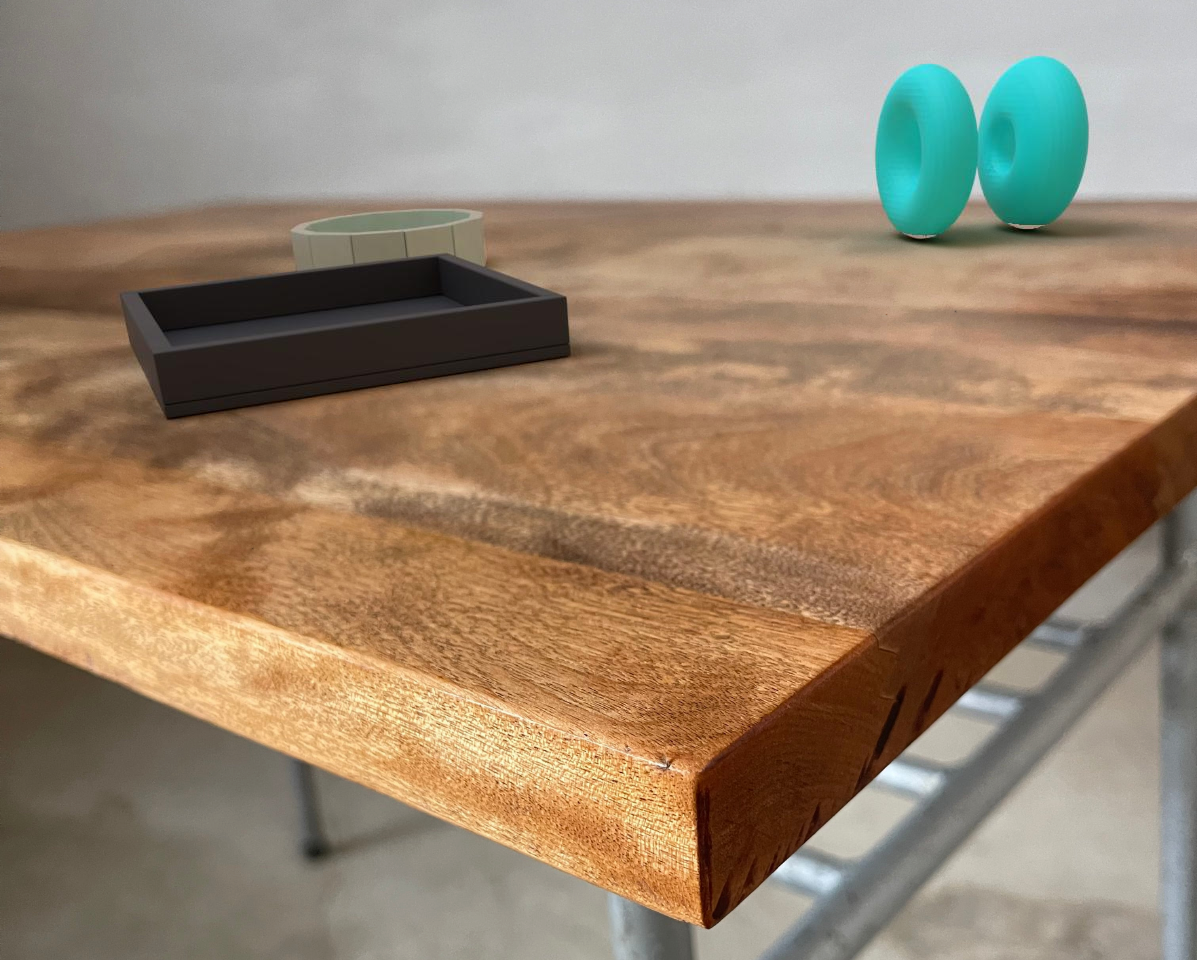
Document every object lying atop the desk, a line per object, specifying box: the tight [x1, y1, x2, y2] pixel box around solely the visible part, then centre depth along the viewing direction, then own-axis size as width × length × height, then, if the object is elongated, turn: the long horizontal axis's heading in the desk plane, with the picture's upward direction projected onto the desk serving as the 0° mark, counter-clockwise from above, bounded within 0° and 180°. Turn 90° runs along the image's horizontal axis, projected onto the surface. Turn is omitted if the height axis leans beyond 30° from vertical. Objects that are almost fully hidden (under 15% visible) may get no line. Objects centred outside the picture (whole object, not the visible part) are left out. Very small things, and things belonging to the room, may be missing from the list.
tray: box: [118, 253, 572, 419], centre depth 56 cm, size 17×17×2 cm
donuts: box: [874, 55, 1090, 236], centre depth 75 cm, size 10×10×10 cm
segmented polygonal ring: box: [289, 208, 488, 271], centre depth 77 cm, size 12×12×3 cm
